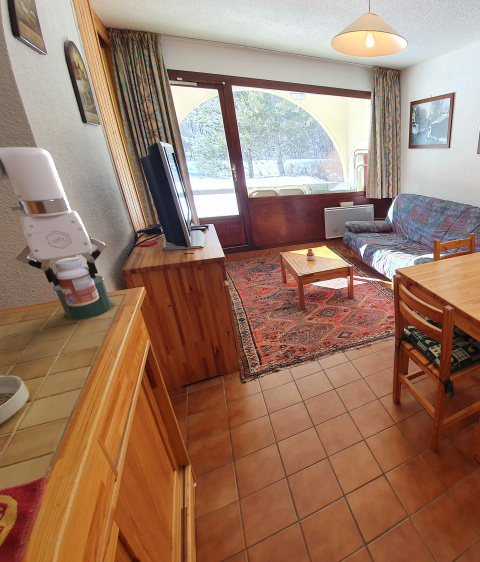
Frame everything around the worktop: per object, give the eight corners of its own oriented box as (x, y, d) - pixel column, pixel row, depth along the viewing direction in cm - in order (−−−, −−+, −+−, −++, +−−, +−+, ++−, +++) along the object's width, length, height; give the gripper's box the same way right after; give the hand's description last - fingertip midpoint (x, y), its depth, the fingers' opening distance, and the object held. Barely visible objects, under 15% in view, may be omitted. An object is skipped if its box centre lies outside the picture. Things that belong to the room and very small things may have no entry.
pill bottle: (63, 303, 78) (45, 261, 73) (93, 294, 82) (78, 254, 78) (73, 309, 75) (55, 266, 70) (104, 299, 80) (89, 259, 75)
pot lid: (48, 297, 80) (40, 280, 78) (60, 282, 88) (54, 267, 86) (100, 289, 85) (94, 273, 83) (107, 276, 93) (102, 261, 91)
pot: (59, 326, 81) (46, 298, 78) (74, 303, 93) (63, 277, 90) (106, 317, 86) (96, 290, 82) (115, 296, 98) (106, 272, 94)
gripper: (-15, 214, 61) (24, 295, 68) (98, 205, 72) (121, 275, 79) (-11, 209, 66) (25, 285, 73) (94, 201, 77) (117, 268, 84)
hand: (75, 279), depth 76 cm, fingers closed on pill bottle, 6 cm apart
